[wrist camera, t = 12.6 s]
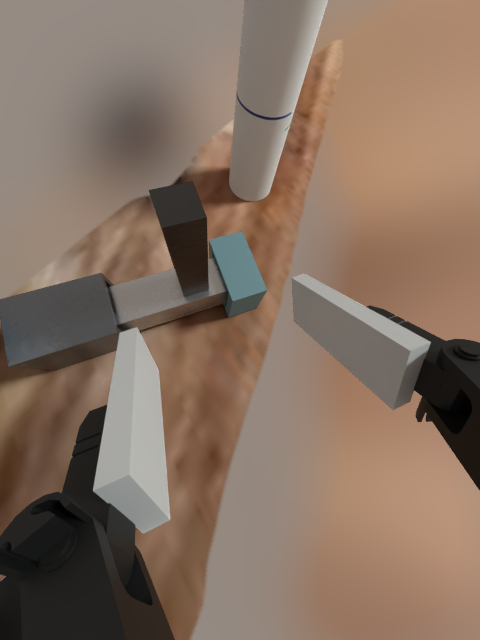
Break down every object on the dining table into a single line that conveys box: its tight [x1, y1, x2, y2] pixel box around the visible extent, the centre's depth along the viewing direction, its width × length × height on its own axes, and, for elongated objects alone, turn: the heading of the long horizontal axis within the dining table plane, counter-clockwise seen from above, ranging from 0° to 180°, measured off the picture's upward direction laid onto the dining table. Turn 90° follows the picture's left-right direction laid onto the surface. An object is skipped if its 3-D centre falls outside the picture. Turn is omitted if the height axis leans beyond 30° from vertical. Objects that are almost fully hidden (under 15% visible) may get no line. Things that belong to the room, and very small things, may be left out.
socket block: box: [209, 231, 267, 318], centre depth 31 cm, size 4×8×7 cm, turn 21°
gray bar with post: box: [107, 181, 229, 331], centre depth 23 cm, size 18×5×17 cm, turn 111°
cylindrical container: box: [229, 0, 328, 201], centre depth 28 cm, size 7×7×25 cm
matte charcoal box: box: [0, 273, 123, 370], centre depth 27 cm, size 10×7×7 cm
